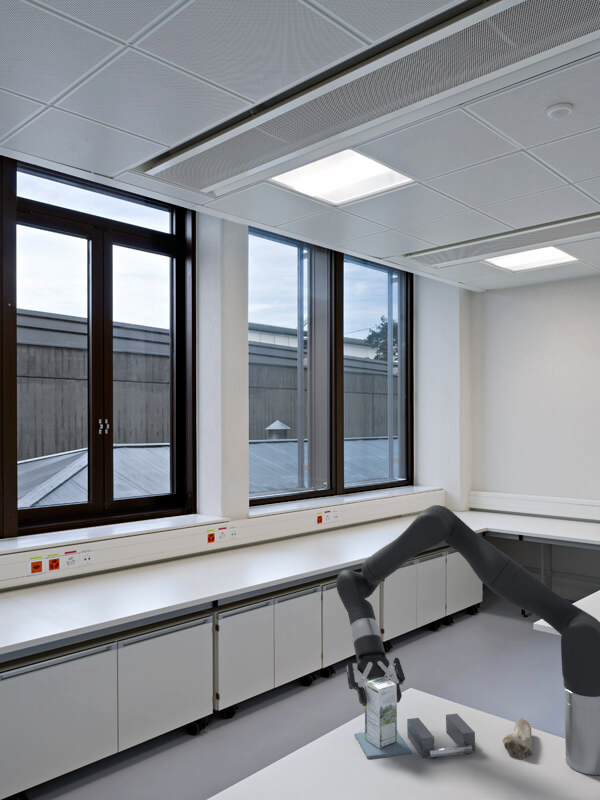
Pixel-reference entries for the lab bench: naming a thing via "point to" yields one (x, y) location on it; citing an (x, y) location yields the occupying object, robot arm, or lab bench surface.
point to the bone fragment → (519, 740)
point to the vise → (453, 728)
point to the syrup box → (381, 712)
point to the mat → (389, 750)
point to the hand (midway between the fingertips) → (381, 703)
